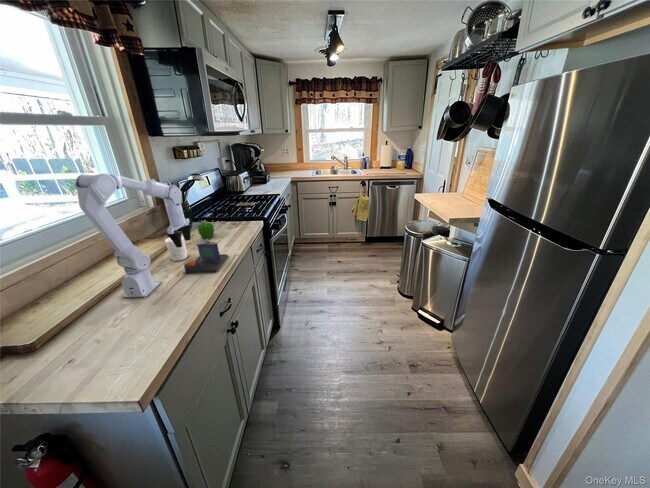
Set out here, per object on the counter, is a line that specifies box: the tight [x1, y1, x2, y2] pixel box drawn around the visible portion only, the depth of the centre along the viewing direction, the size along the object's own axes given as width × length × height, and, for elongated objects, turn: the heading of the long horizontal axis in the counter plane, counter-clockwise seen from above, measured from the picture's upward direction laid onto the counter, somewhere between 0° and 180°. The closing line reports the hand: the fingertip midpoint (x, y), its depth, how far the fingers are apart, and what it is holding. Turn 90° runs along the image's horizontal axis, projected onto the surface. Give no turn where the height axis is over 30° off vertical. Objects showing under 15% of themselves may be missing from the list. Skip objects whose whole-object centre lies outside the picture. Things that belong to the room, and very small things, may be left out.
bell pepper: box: [197, 220, 215, 240], centre depth 146 cm, size 8×8×10 cm
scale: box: [183, 253, 229, 274], centre depth 116 cm, size 16×14×3 cm
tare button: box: [186, 259, 196, 266], centre depth 111 cm, size 3×3×2 cm
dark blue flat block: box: [196, 238, 221, 262], centre depth 115 cm, size 9×3×11 cm, turn 86°
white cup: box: [164, 235, 188, 262], centre depth 122 cm, size 8×8×10 cm
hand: (183, 243), depth 114 cm, fingers open, 7 cm apart
